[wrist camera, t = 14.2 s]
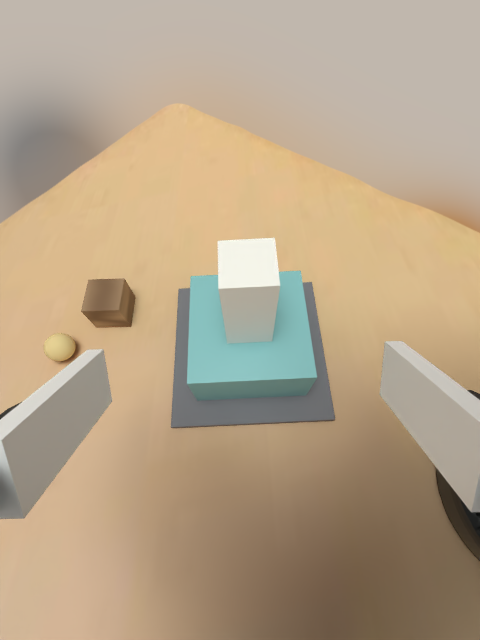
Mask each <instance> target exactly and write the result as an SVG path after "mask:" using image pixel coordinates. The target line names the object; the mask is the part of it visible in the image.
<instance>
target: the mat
mask: <svg viewBox="0 0 480 640" xmlns="http://www.w3.org/2000/svg"><path fill="white" fill-rule="evenodd" d="M303 290H304V296H305V302H306V309H307V315H308V322H309V328H310V335H311V341H312V347H313V354H314V360H315V367H316V373H317V379H316V380H315V382H314V383H313V385H312V387H311V388H310V390H309V392H308V393H307V395H303V396H282V397H261V398H241V399H220V400H199V401H197V399H196V398H195V396H194V394H193V393H192V391H191V390H190V388H189V386H188V385H187V367H188V339H189V310H190V288H186V289H179V293H178V311H177V329H176V347H175V365H174V383H173V401H172V419H171V428H186V427H208V426H229V425H250V424H272V423H293V422H314V421H334V420H335V415H334V409H333V404H332V398H331V392H330V386H329V380H328V374H327V368H326V363H325V357H324V351H323V345H322V339H321V333H320V327H319V322H318V316H317V310H316V304H315V298H314V292H313V287H312V282H306V283H303Z"/></svg>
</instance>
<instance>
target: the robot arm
mask: <svg viewBox="0 0 480 640" xmlns="http://www.w3.org/2000/svg"><path fill="white" fill-rule="evenodd" d="M380 396H381V397H382V398H383V400H384V401H385V402H386V404H387V405H388V406H389V407H390V409H391V410H392V411H393V413H394V414H395V415H396V416H397V418H398V419H399V420H400V422H401V423H402V424H403V425H404V427H405V428H406V429H407V431H408V432H409V433H410V434H411V436H412V437H413V438H414V439H415V441H416V442H417V443H418V445H419V446H420V447H421V448H422V450H423V451H424V452H425V454H426V455H427V456H428V457H429V459H430V460H431V461H432V463H433V464H434V465H435V466H436V468H437V481H438V486H439V491H440V495H441V498H442V501H443V504H444V507H445V509H446V512H447V514H448V516H449V518H450V520H451V522H452V524H453V526H454V528H455V529H456V531H457V533H458V534H459V536H460V537H461V539H462V540H463V541H464V543H465V544H466V545H467V547H468V548H469V549H470V550H471V552H472V553H473V554H474V555H475V556H476V557H477V558H478V559H479V560H480V394H478V393H476V392H474V391H472V390H466V389H464V388H463V387H462V386H461V385H459V384H458V383H457V382H455V381H454V380H453V379H451V378H450V377H449V376H447V375H446V374H445V373H443V372H442V371H441V370H439V369H438V368H437V367H435V366H434V365H433V364H431V363H430V362H429V361H428V360H426V359H425V358H424V357H422V356H421V355H420V354H418V353H417V352H416V351H414V350H413V349H412V348H410V347H409V346H408V345H406V344H405V343H404V342H402V341H385V346H384V356H383V366H382V376H381V386H380ZM111 402H112V397H111V391H110V385H109V379H108V373H107V367H106V362H105V356H104V350H103V349H97V350H86V351H85V352H84V353H83V354H81V355H80V356H79V357H78V358H77V359H75V360H74V361H73V362H72V363H70V364H69V365H68V366H67V367H65V368H64V369H63V370H62V371H60V372H59V373H58V374H57V375H55V376H54V377H53V378H52V379H50V380H49V381H48V382H47V383H45V384H44V385H43V386H42V387H40V388H39V389H38V390H37V391H35V392H34V393H33V394H32V395H30V396H29V397H28V398H27V399H25V400H24V401H23V402H21V403H19V404H17V405H15V406H13V407H11V408H9V409H7V410H6V411H4V412H3V413H2V414H1V415H0V519H19V518H25V517H26V516H27V514H28V513H29V511H30V510H31V509H32V507H33V506H34V505H35V503H36V502H37V501H38V499H39V498H40V497H41V495H42V494H43V493H44V491H45V490H46V489H47V487H48V486H49V485H50V483H51V482H52V481H53V479H54V478H55V477H56V475H57V474H58V473H59V471H60V470H61V469H62V467H63V466H64V465H65V463H66V462H67V461H68V459H69V458H70V457H71V455H72V454H73V453H74V451H75V450H76V449H77V447H78V446H79V445H80V443H81V442H82V441H83V439H84V438H85V437H86V435H87V434H88V433H89V431H90V430H91V429H92V427H93V426H94V425H95V423H96V422H97V421H98V419H99V418H100V417H101V415H102V414H103V413H104V411H105V410H106V409H107V407H108V406H109V405H110V403H111Z"/></svg>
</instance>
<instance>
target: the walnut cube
mask: <svg viewBox="0 0 480 640" xmlns="http://www.w3.org/2000/svg"><path fill="white" fill-rule="evenodd" d="M134 303H135V295H134V294H133V292H132V290H131V289H130V287H129V285H128V284H127V282H126V280H125V279H96V280H88V284H87V288H86V292H85V297H84V301H83V305H82V310H81V312H82V313H83V314H84V315H85V316H86V317H87V318H88V319H89V320H90V321H91V322H92V323H93V324H94V325H95V326H96V327H97V328H101V327H131V323H132V317H133V310H134Z"/></svg>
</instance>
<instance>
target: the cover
mask: <svg viewBox="0 0 480 640" xmlns="http://www.w3.org/2000/svg"><path fill="white" fill-rule="evenodd" d="M316 379H317V373H316V367H315V360H314V354H313V347H312V341H311V335H310V328H309V322H308V315H307V309H306V302H305V296H304V290H303V283H302V277H301V271H286V272H279V270H278V262H277V253H276V245H275V238H263V239H244V240H224V241H218V275H207V276H191V282H190V310H189V339H188V367H187V385H188V386H189V388H190V390H191V391H192V393H193V394H194V396H195V398H196V399H197V401H199V400H220V399H241V398H261V397H282V396H303V395H307V393H308V392H309V390H310V388H311V387H312V385H313V383H314V382H315V380H316Z"/></svg>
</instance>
